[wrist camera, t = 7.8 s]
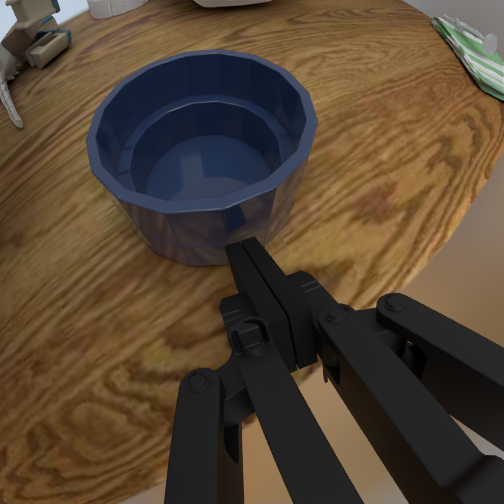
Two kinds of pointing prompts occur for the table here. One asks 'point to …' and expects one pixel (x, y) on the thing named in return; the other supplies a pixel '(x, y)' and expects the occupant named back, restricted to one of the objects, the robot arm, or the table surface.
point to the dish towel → (474, 57)
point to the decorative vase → (112, 7)
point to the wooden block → (19, 38)
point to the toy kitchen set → (40, 30)
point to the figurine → (488, 41)
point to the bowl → (227, 2)
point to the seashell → (3, 69)
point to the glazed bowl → (203, 151)
